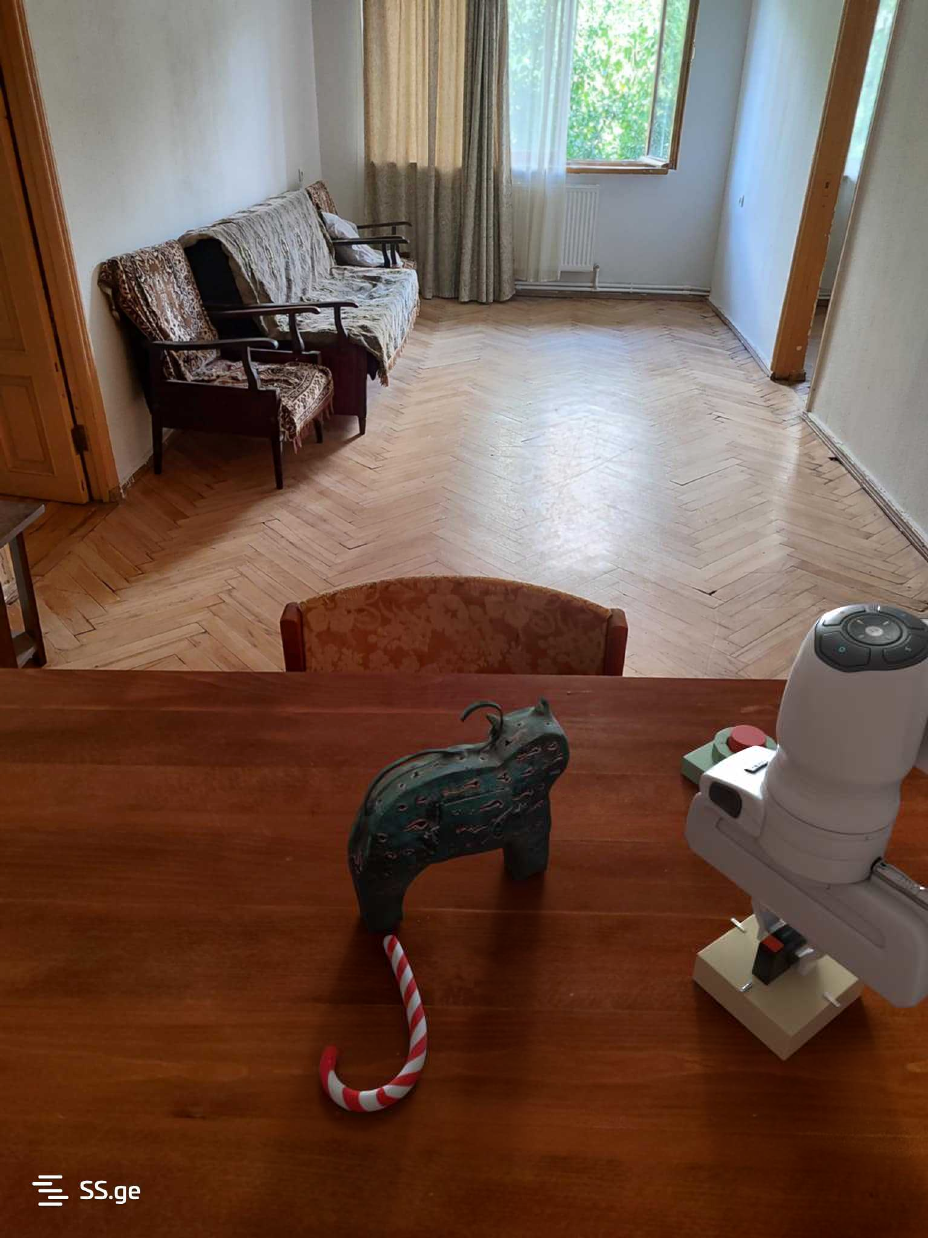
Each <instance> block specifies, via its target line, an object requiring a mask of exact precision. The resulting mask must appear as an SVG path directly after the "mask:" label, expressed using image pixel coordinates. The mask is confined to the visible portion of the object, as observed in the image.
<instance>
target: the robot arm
mask: <svg viewBox="0 0 928 1238" xmlns="http://www.w3.org/2000/svg"><path fill="white" fill-rule="evenodd" d="M775 737H776V742H777V743H776V745H777V750H776V751H774V750H770V749H767V748H763V747H759V746H753V747H750V748H747V749H745V750H742V751H740V752H738V753H736V754H734V755H732V756H730V757H728V758H726V759H724V760H722V761H721V762H719V763H717V764H716V765H714V766H713V767H711V768H710V769H709V770H707V771H706V772H705V773H703V774H702V776H701V778H700V784H699V785H698V786H699V787H698V788H699V792H697V793H696V794H695V795H694V796H693V798H692V801H691V802H690V806H689V809H688V813H687V816H686V821H685V826H684V837H685V840H686V842H687V845H688V847H689V849H690V850H691V851H692V852H693V853H694V854H695V855H697V856H698V857H700V858H701V859H702V860H703V861H705V862H706V863H707V864H709V865H710V866H711V867H713V868H714V869H715V870H717V871H718V872H719V873H720V874H722V875H723V876H725V878H727V879H728V880H729V881H731V882H732V883H734V884H735V885H736V886H737V887H739V888H740V889H741V890H742V891H744V892H745V893H746V894H748V895H749V896H750V897H751V899H750V904H751V909H752V910H753V911H752V912H753V914H755V917H756V919H757V922H758V925H759V929H758V933H757V937H756V938H757V939H758V940H759V941H760V942H761V941H762V940H764V939H765V938H766V937H768V936H769V935H770V934H772V933H773V932H774V931H776V930H777V929H779V928H780V927H781V926H783V925H784V923H783V922H782V921H780V919H781V920H783V921H784V922H785V923H787V924H788V925H789V926H791V927H792V928H793V929H794V930H796V931H797V932H798V933H800V934H801V935H802V936H804V937H805V938H806V939H807V940H808V942H807V941H806V940H803V941H802V942H801V943H799V946H795V947H794V948H793V949H791V950H790V954H789V959H788V961H787V963H788V964H789V965H790V966H791V967H792V968H794V969H795V970H796V971H797V972H798V973H800V974H801V975H802V976H805V975H806V974H808V973H809V972H810V971H811V970H813V968H814V967H815V966H816V964H817V961H818V960H819V959H821V958H823V957H824V956H826V955H828V956H829V957H831V958H832V959H833V960H835V961H836V962H837V963H838V964H840V965H841V966H842V967H844V968H845V969H846V970H848V971H849V972H850V973H851V974H853V975H854V976H855V977H857V978H858V979H859V980H860V981H862V982H863V983H864V984H865V985H866V987H868V988H869V989H871V990H872V991H873V992H874V993H876V994H877V995H878V996H880V997H881V998H883V999H884V1000H885V1001H886V1002H887V1003H889V1004H890V1005H891V1006H893V1007H895V1008H897V1009H906V1008H907V1009H908V1008H913V1007H915V1006H917V1005H918V1004H919V1003H921V1002H922V1001H923V1000H924V999H925V998H926V997H927V996H928V888H927V887H925V886H922V885H920V884H919V883H917V882H916V881H914V880H913V879H912V878H910V877H909V876H908V875H907V874H905V872H903V871H902V870H900V869H899V868H897V867H895V866H894V865H893V864H891V863H889V862H887V861H886V860H884V857H885V853H886V851H887V848H888V845H889V843H890V838H891V835H892V833H893V830H894V826H895V824H896V820H897V817H898V814H899V811H900V806H901V792H900V788H901V785H902V782H903V780H904V779H905V778H906V776H908V774H909V773H910V772H911V770H912V769H913V767H915V768H917V769H918V770H920V771H922V772H923V773H924V774H926V775H927V776H928V618H927V617H918V616H916V615H914V614H912V613H910V612H908V611H906V610H903V609H900V608H898V607H893V606H889V605H883V604H875V603H874V604H873V603H862V604H861V603H859V604H852V605H846V606H842V607H839V608H835V609H833V610H831V611H828V612H827V613H824V614H823V615H822V616H821V617H819V618H818V619H817V621H815V623H813V625H812V627H810V630H808V633H807V634H806V636H805V638H804V639H803V642H802V643H801V645H800V647H799V649H798V652H797V655H796V657H795V659H794V661H793V664H792V667H791V669H790V672H789V675H788V678H787V681H786V684H785V687H784V691H783V695H782V698H781V701H780V705H779V710H778V715H777V720H776V724H775Z"/></svg>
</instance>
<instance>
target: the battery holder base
mask: <svg viewBox="0 0 928 1238" xmlns="http://www.w3.org/2000/svg"><path fill="white" fill-rule="evenodd" d="M780 921H782V922H783V923H784V924H785V922H784V921H783V920H781V919H780ZM730 922H731V923H732V924H733V925H734V926H735V927H733V928H732V929H730V930H729V931H728V932H726V933H725V934H723V935H722V936H721V937H719V938H717V939H716V940H714V941H713V942H712V943H710V944H709V945H708V946H706V947H705V948H703V949H702V950H700V951H699V952H697V953H696V958H695V962H694V968H693V972H692V980H693V981H694V982H695V983H697V984H698V985H699V986H700V987H701V988H702V989H703V990H704V991H705V992H706V993H707V994H709V995H710V996H711V997H712V998H713V999H714V1000H715V1001H716V1002H717V1003H718V1004H719V1005H721V1006H722V1007H723V1008H724V1009H725V1010H727V1011H728V1013H729V1014H731V1015H732V1016H733V1017H734V1018H735V1019H736V1020H737V1021H739V1022H740V1023H741V1024H742V1025H743V1026H744V1027H745V1028H746V1029H747V1030H749V1031H750V1033H751V1034H753V1035H754V1036H755V1037H756V1038H757V1039H759V1041H761V1042H762V1043H763V1044H764V1045H765V1046H766V1047H767V1048H768V1049H770V1050H771V1051H772V1053H774V1054H775V1055H776V1056H777V1057H778V1058H779V1059H780V1060H782V1062H784V1061H786V1060H787V1059H789V1057H790V1056H792V1055H793V1054H794V1053H795V1052H796V1051H797V1050H799V1049H800V1048H801V1047H802V1046H804V1045H805V1044H806V1043H807V1042H808V1041H809V1040H811V1039H812V1038H813V1037H814V1036H815V1035H816V1034H818V1032H819V1031H821V1030H822V1029H823V1028H824V1027H825V1026H827V1025H828V1024H829V1023H830V1022H831V1021H832V1020H834V1019H835V1018H836V1017H837V1016H838V1015H840V1014H841V1013H842V1012H843V1011H844V1010H845V1009H847V1008H848V1007H849V1006H850V1005H851V1004H852V1003H854V1002H855V1000H857V999H858V998H859V997H860V996H862V993H863V990H864V987H865V985H866V984H864V983H863V982H862V981H860V980H859V979H858V978H857V977H855V976H854V975H853V974H851V973H850V972H849V971H848V970H846V969H845V968H844V967H842V966H841V965H840V964H838V963H837V962H836V961H835V960H833V959H832V958H831V957H829V956H828V955H826V956H824V957H823V958H821V959H819V960H818V961H817V964H816V966H815V967H814V968H813V970H811V971H810V972H809V973H808V974H806V975H805V976H802V975H801V974H800V973H798V972H797V971H796V970H795V969H794V968H792V967H790V968H789V969H788V970H787V971H785V972H784V973H783V974H781V975H780V976H779V977H778V978H776V979H775V980H774V981H772V982H771V983H770V984H769V985H767V986H766V985H765V984H764V983H763V982H761V981H760V980H759V979H758V978H757V977H755V976H754V975H753V974H752V969H753V965H754V961H755V957H756V953H757V949H758V945H759V942H760V941H759V940H758V939H757V938H756V937H757V933H758V929H759V925H758V922H757V919H756V917H755V914H754V913H753V914H752V915H750V916H749V917H747V918H746V919H744V920H743V921H742V922H739V921H738V920H737V919H735V918H734V917H733V918H731V919H730Z"/></svg>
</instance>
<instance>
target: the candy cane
mask: <svg viewBox="0 0 928 1238" xmlns="http://www.w3.org/2000/svg"><path fill="white" fill-rule="evenodd" d="M382 944H383V948H384V951H385V953H386V955H387V958H388V960H389V963H390V965H391V967H392V970H393V972H394V975H395V977H396V981H397V984H398V987H399V990H400V994H401V997H402V1001H403V1005H404V1007H405V1012H406V1017H407V1022H408V1029H409V1038H410V1039H409V1052H408V1056H407V1059H406V1062H405V1064H404V1066H403V1068H402V1070H401V1071H399V1074H398V1075H397V1076H396V1077H395V1078H394V1079H393V1080H391V1081H390V1082H388V1083H387V1084H385V1085H384V1086H381V1087H379V1088H376V1089H372V1090H364V1091H363V1090H361V1091H359V1090H354V1089H351V1088H350V1087H348V1086H346V1085H345V1084H343V1083H342V1082H341V1081H340V1080H339V1078H338V1077H337V1075H336V1064H337V1061H338V1058H339V1050H338V1049H337V1048H336V1047H335V1046H333V1045H327V1046H326V1047H325V1049H324V1050H323V1053H322V1055H321V1057H320V1058H321V1059H320V1063H319V1069H318V1070H319V1079H320V1082H321V1086H322V1088H323V1089H324V1092H325V1093H326V1095H327V1096H328V1097H329V1098H330V1099H331V1100H332V1101H333V1102H334V1103H335V1104H337V1105H339V1106H340V1107H341V1108H343V1109H345V1110H348V1111H352V1112H356V1113H369V1112H375V1111H378V1110H382V1109H384V1108H387V1107H389V1106H392V1105H394V1104H395V1103H397V1102H398V1101H400V1100H401V1099H402V1098H403V1097H404V1096H406V1095H407V1093H409V1091H411V1089H412V1088H413V1087H414V1085H415V1084H416V1082H417V1080H418V1079H419V1076H420V1075H421V1072H422V1070H423V1066H424V1064H425V1060H426V1053H427V1045H428V1044H427V1043H428V1033H427V1023H426V1018H425V1012H424V1008H423V1004H422V1000H421V995H420V994H419V989H418V987H417V984H416V981H415V978H414V975H413V972H412V969H411V967H410V964H409V961H408V959H407V957H406V955H405V952H404V950H403V948H402V945H401V944H400V941H399V940H398V939H397V937H396V936H395V935H393V934H389V935H387V936H385V937H384V938H383V940H382Z"/></svg>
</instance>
